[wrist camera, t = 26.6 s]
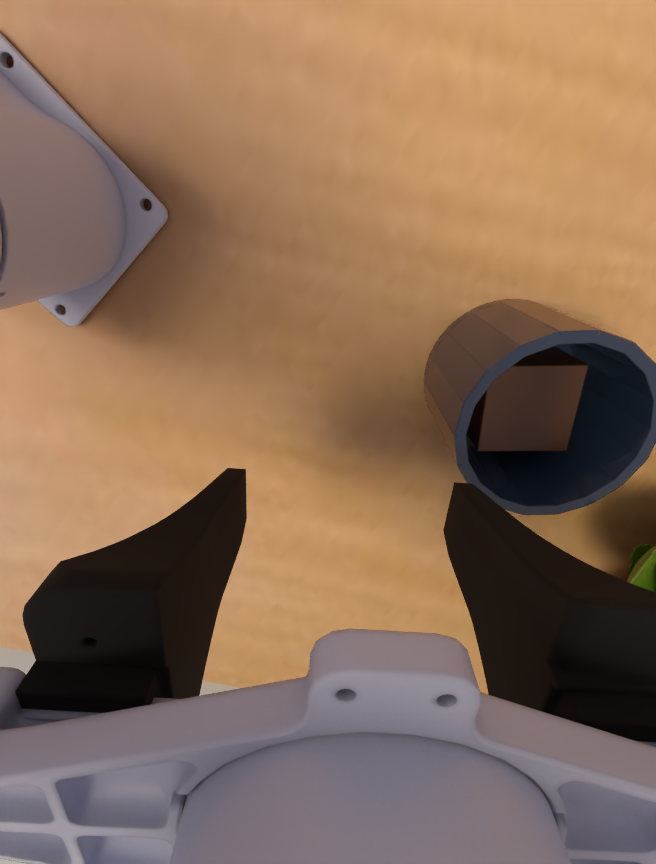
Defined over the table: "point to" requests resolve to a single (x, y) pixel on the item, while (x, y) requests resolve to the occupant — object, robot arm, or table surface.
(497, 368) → the cup
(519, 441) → the block
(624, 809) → the robot arm
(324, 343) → the table surface
